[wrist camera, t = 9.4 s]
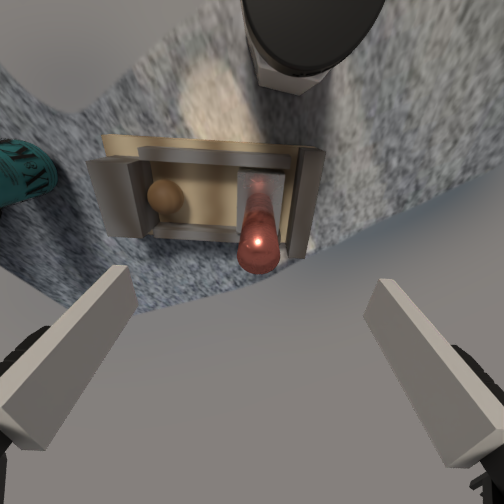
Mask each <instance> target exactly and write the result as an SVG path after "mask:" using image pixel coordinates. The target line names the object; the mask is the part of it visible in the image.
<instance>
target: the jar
mask: <svg viewBox="0 0 504 504" xmlns="http://www.w3.org/2000/svg"><path fill="white" fill-rule="evenodd" d="M384 2H385V0H240V3H241V9H242V15H243V21H244V28H245V33H246V37H247V41H248V45H249V49H250V53H251V57H252V61H253V65H254V69H255V73H256V76H257V80H258V84H259V85H260V86H262V87H266V88H270V89H274V90H278V91H282V92H286V93H290V94H294V95H298V96H300V95H302V94H303V93H305V92H306V91H307V90H309V89H310V88H312V87H313V86H315V85H316V84H318V83H319V82H320V81H322V79H323V78H324V77H325V76H326V75H327V73H328V72H329V71H330V70H331V69H332V68H333V67H335V66H336V65H338V64H339V63H340V62H341V61H343V60H344V59H345V58H346V57H347V56H348V55H350V54H351V53H352V51H353V50H354V49H355V48H356V47H357V46H358V45H359V44H360V43H361V41H362V40H363V39H364V38H365V36H366V35H367V33H368V32H369V31H370V29H371V28H372V26H373V24H374V23H375V21H376V19H377V17H378V15H379V13H380V11H381V9H382V7H383V5H384Z"/></svg>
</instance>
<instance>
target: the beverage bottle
mask: <svg viewBox="0 0 504 504" xmlns="http://www.w3.org/2000/svg"><path fill="white" fill-rule="evenodd" d="M5 139H6V138H5ZM57 180H58V176H57V171H56V168H55V166H54V164H53V162H52V161H51V159H50V158H49V157H48V155H47V154H46V153H45V152H44V151H42V150H41V149H40V148H38V147H37V146H35V145H33V144H31V143H28V142H25V141H23V140H22V141H21V140H20V139H19V140H15V138H14V140H10V139H9V138H8V139H7V140H1V139H0V208H4V207H3V206H5V207H6V206H7V205H8V207H9V205H10V204H13V203H14V204H13V205H15V203H16V202H19V201H22V202H23V200H26V199H29V198H32V197H35V196H39V195H42V194H43V195H44V194H45V193H48V192H50V191H51V190H53V188H54V187H55V186H56V184H57ZM45 195H46V194H45ZM39 197H40V196H39ZM36 198H37V197H36ZM33 199H34V198H33ZM30 200H31V199H30ZM27 201H28V200H27ZM24 202H25V201H24ZM20 203H21V202H20ZM17 204H18V203H17ZM10 206H11V205H10Z"/></svg>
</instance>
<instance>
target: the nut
mask: <svg viewBox="0 0 504 504" xmlns="http://www.w3.org/2000/svg"><path fill="white" fill-rule="evenodd" d="M147 198H148V202H149V204H150V206H151V207H152V208H153V209H154V210H155V211H156V212H158V213H160V214H164V215H170V214H174V213H176V212H178V211H179V210H180V209H181V207H182V206H183V203H184V194H183V191H182V189H181V188H180V187H179V186H178V185H177V184H176V183H175V182H173V181H171V180H166V179H162V180H158V181H156V182H154V183H153V184H152V185H151V186H150V187H149V190H148V193H147Z"/></svg>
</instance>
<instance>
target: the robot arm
mask: <svg viewBox="0 0 504 504" xmlns="http://www.w3.org/2000/svg"><path fill="white" fill-rule="evenodd" d="M0 217H1V208H0ZM137 307H138V301H137V297H136V294H135V290H134V287H133V283H132V279H131V276H130V272H129V268H128V266H124V265H112V266H111V267H110V268H109V269H108V270H107V271H106V272H105V273H104V274H103V275H102V276H101V277H100V278H99V279H98V280H97V281H96V282H95V283H94V284H93V285H92V286H91V287H90V288H89V289H88V290H87V291H86V292H85V293H84V294H83V295H82V296H81V297H80V298H79V299H78V300H77V301H76V302H75V303H74V304H73V305H72V306H71V307H70V308H69V309H68V310H67V311H66V312H65V313H64V314H63V315H62V316H61V317H60V318H59V319H58V320H57V321H56V322H55V323H54V324H53V325H52V326H44V327H42V328H40V329H39V330H37V331H36V332H34V333H33V334H31V335H29V336H28V337H27V338H26V339H25V340H24V341H23V342H22V343H21V344H19V345H18V346H17V347H16V348H15V351H12V352H11V353H10V354H9V355H8V356H7V357H6V358H5V359H4V361H3V362H0V504H3V502H4V491H5V479H6V466H7V458H6V453H5V451H6V450H7V448H8V447H9V446H10V444H11V443H12V442H13V443H14V444H15V445H16V446H17V447H19V448H20V449H21V450H38V451H45V450H46V449H47V447H48V446H49V444H50V443H51V441H52V439H53V438H54V436H55V435H56V433H57V432H58V430H59V428H60V427H61V425H62V424H63V422H64V421H65V419H66V418H67V416H68V414H69V413H70V411H71V410H72V408H73V407H74V405H75V403H76V402H77V400H78V399H79V397H80V396H81V394H82V393H83V391H84V390H85V388H86V386H87V385H88V383H89V382H90V380H91V379H92V377H93V375H94V374H95V372H96V371H97V369H98V367H99V366H100V365H101V363H102V361H103V360H104V358H105V357H106V355H107V354H108V352H109V351H110V349H111V347H112V346H113V344H114V343H115V341H116V340H117V338H118V337H119V335H120V333H121V332H122V330H123V329H124V327H125V326H126V324H127V322H128V321H129V319H130V318H131V316H132V315H133V313H134V312H135V310H136V308H137ZM363 317H364V319H365V321H366V323H367V325H368V326H369V328H370V330H371V332H372V334H373V336H374V337H375V339H376V341H377V343H378V345H379V346H380V348H381V350H382V352H383V354H384V355H385V357H386V359H387V361H388V363H389V365H390V366H391V368H392V370H393V372H394V374H395V376H396V377H397V379H398V381H399V383H400V385H401V387H402V388H403V390H404V392H405V394H406V396H407V397H408V399H409V401H410V403H411V405H412V407H413V408H414V410H415V412H416V414H417V416H418V417H419V419H420V421H421V423H422V425H423V427H424V428H425V430H426V432H427V434H428V436H429V437H430V439H431V441H432V443H433V445H434V447H435V448H436V450H437V452H438V454H439V456H440V458H441V459H442V461H443V463H444V465H445V467H447V468H470V467H472V466H473V465H475V464H476V463H478V462H479V461H480V462H481V464H482V465H483V467H484V468H485V470H486V472H485V473H483V474H482V475H480V476H479V477H477V478H475V479H474V480H472V481H471V483H470V486H469V487H470V488H471V489H473V490H475V489H476V488H478V487H480V486H482V485H483V492H482V493H481V494H480V495H481V496H482V497H483V504H504V392H503V390H502V389H501V388H500V387H499V386H498V385H497V384H495V383H494V381H493V379H492V378H491V377H490V376H489V375H488V374H487V373H484V370H483V369H482V368H481V366H480V365H479V364H478V363H477V362H476V361H475V360H474V359H473V358H472V357H471V356H470V355H469V354H467V353H466V352H465V351H463V350H462V349H461V348H459V347H458V346H457V345H450V344H449V343H448V342H447V341H446V340H445V338H444V337H443V336H442V335H441V334H440V333H439V331H438V330H437V329H436V328H435V327H434V326H433V325H432V323H431V322H430V321H429V320H428V319H427V318H426V316H425V315H424V314H423V313H422V312H421V311H420V310H419V308H418V307H417V306H416V305H415V304H414V303H413V302H412V301H411V299H410V298H409V297H408V296H407V295H406V294H405V292H404V291H403V290H402V289H401V288H400V287H399V286H398V284H397V283H396V282H395V281H394V280H393V279H379V280H378V282H377V284H376V287H375V289H374V291H373V294H372V296H371V298H370V301H369V303H368V306H367V308H366V310H365V313H364V315H363Z"/></svg>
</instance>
